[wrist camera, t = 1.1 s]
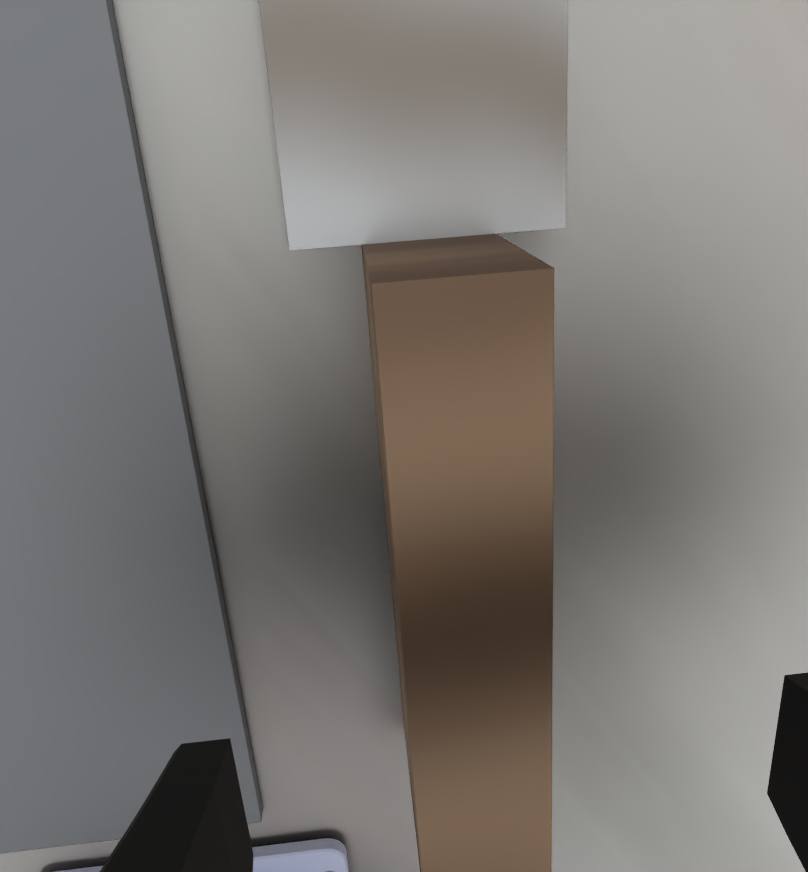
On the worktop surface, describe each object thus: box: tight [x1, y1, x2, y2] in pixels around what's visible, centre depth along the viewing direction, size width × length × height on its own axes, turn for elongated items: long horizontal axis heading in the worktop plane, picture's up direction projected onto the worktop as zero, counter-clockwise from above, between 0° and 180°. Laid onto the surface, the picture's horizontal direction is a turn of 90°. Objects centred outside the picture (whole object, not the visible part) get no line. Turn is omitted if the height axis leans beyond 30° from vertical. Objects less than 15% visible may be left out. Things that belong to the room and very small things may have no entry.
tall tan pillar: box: [259, 0, 568, 872], centre depth 13 cm, size 16×5×5 cm, turn 4°
